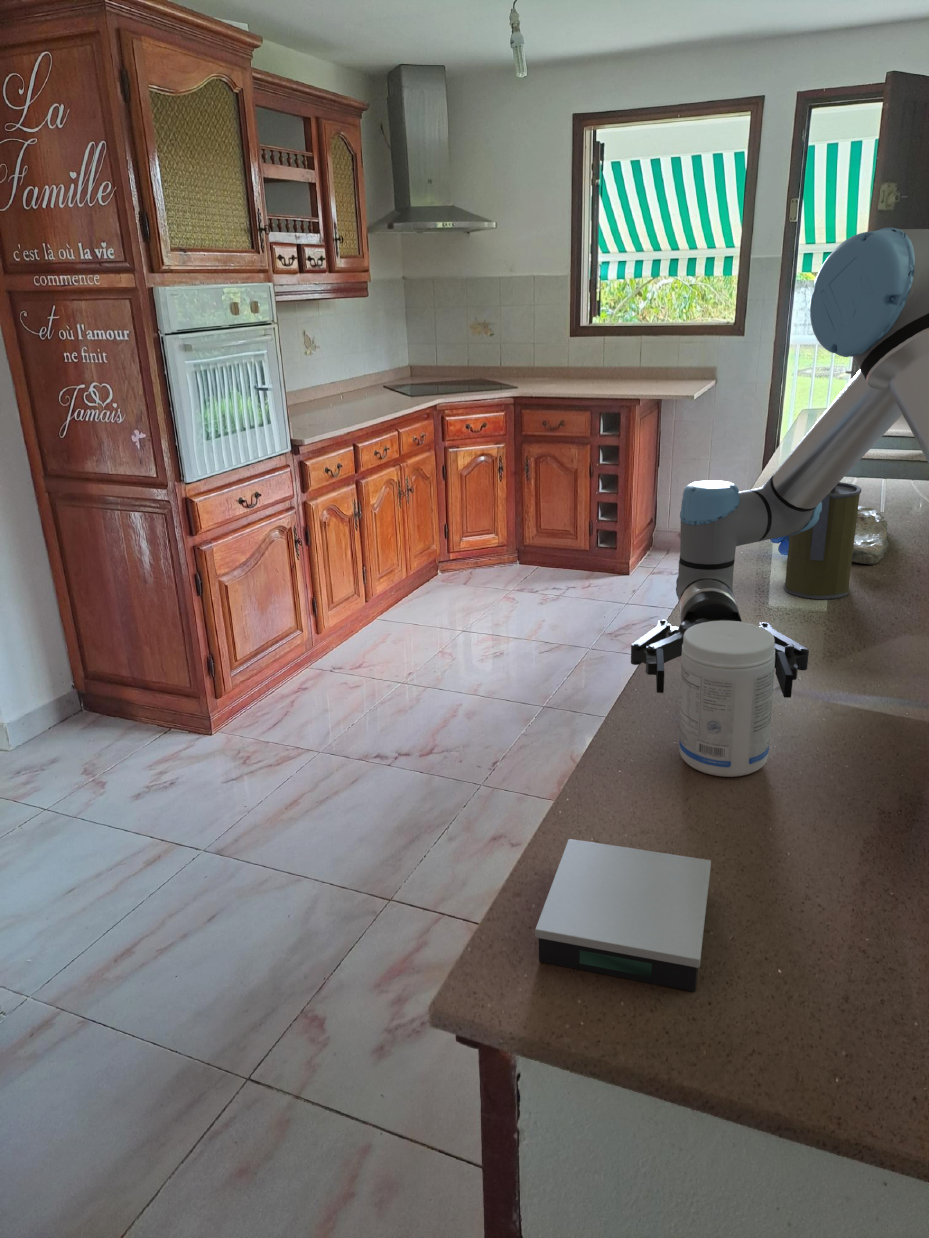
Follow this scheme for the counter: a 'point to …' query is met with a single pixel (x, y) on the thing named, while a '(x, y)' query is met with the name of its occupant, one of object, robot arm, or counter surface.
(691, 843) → the counter surface
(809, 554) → the canister
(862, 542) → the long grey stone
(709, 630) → the supplement tub
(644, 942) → the kitchen scale
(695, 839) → the counter surface
